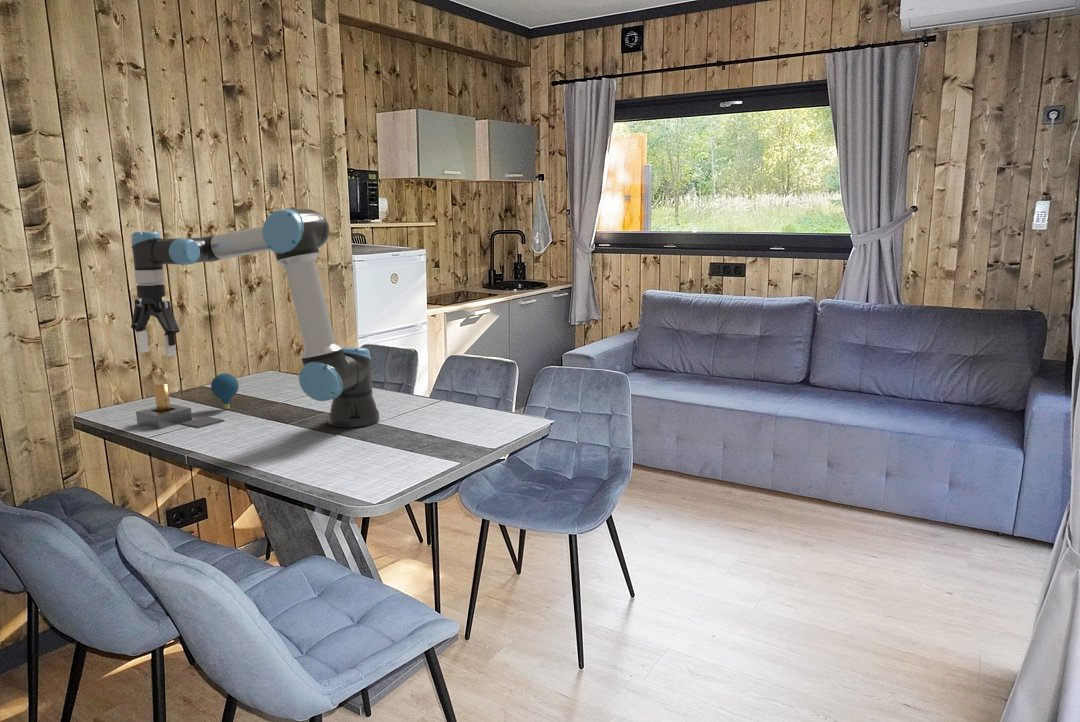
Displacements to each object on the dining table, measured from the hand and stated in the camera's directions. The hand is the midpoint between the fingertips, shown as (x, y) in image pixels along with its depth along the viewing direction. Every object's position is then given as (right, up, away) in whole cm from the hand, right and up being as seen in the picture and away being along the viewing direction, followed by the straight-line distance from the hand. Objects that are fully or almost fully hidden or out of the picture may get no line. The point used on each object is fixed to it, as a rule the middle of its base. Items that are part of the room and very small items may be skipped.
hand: (157, 354), depth 229 cm
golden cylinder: (0, -21, +4) cm, 21 cm away
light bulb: (+13, -18, +19) cm, 30 cm away
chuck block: (0, -21, +4) cm, 21 cm away
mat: (+12, -21, +3) cm, 25 cm away
